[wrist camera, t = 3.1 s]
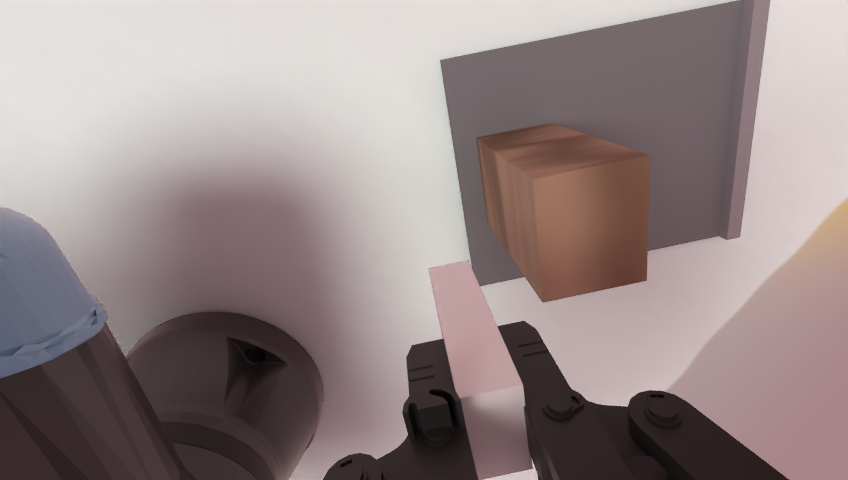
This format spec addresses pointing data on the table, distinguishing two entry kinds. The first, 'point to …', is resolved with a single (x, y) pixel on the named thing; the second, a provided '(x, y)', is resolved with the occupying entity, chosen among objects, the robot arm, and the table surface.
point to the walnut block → (567, 208)
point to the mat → (624, 114)
